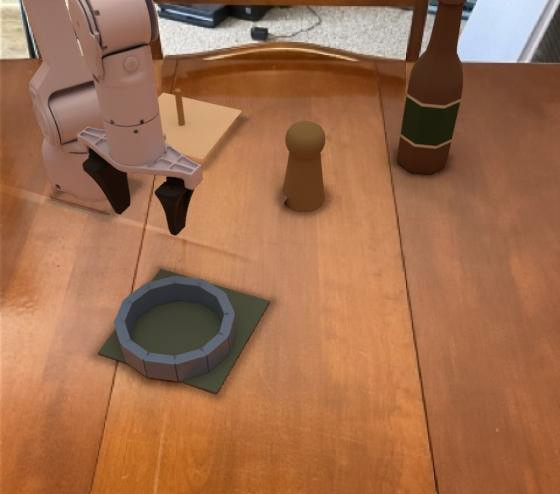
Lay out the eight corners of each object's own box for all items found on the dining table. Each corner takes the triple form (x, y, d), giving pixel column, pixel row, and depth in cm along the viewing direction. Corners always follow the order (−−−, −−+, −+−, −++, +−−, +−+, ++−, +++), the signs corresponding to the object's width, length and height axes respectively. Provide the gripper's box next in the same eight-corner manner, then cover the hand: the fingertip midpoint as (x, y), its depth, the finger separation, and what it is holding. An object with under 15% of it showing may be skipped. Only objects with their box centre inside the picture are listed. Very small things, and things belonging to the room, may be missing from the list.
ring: (96, 341, 78) (90, 323, 76) (177, 279, 85) (174, 261, 82) (178, 400, 73) (175, 383, 71) (257, 329, 80) (257, 311, 77)
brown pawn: (320, 214, 93) (325, 143, 84) (277, 208, 94) (277, 137, 85) (327, 187, 97) (332, 117, 88) (286, 182, 97) (287, 111, 89)
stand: (120, 146, 103) (111, 104, 97) (164, 100, 111) (158, 58, 105) (203, 168, 99) (199, 124, 94) (242, 119, 108) (240, 76, 102)
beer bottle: (455, 155, 102) (496, -16, 83) (434, 182, 97) (471, 8, 79) (408, 139, 104) (437, -31, 85) (385, 165, 100) (410, -8, 81)
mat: (97, 354, 77) (97, 352, 77) (160, 270, 86) (160, 268, 86) (216, 394, 74) (216, 392, 74) (269, 302, 83) (269, 300, 82)
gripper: (214, 110, 67) (222, 219, 78) (96, 73, 71) (119, 182, 82) (174, 146, 63) (189, 256, 74) (52, 106, 68) (83, 215, 78)
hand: (150, 219), depth 78 cm, fingers open, 7 cm apart
